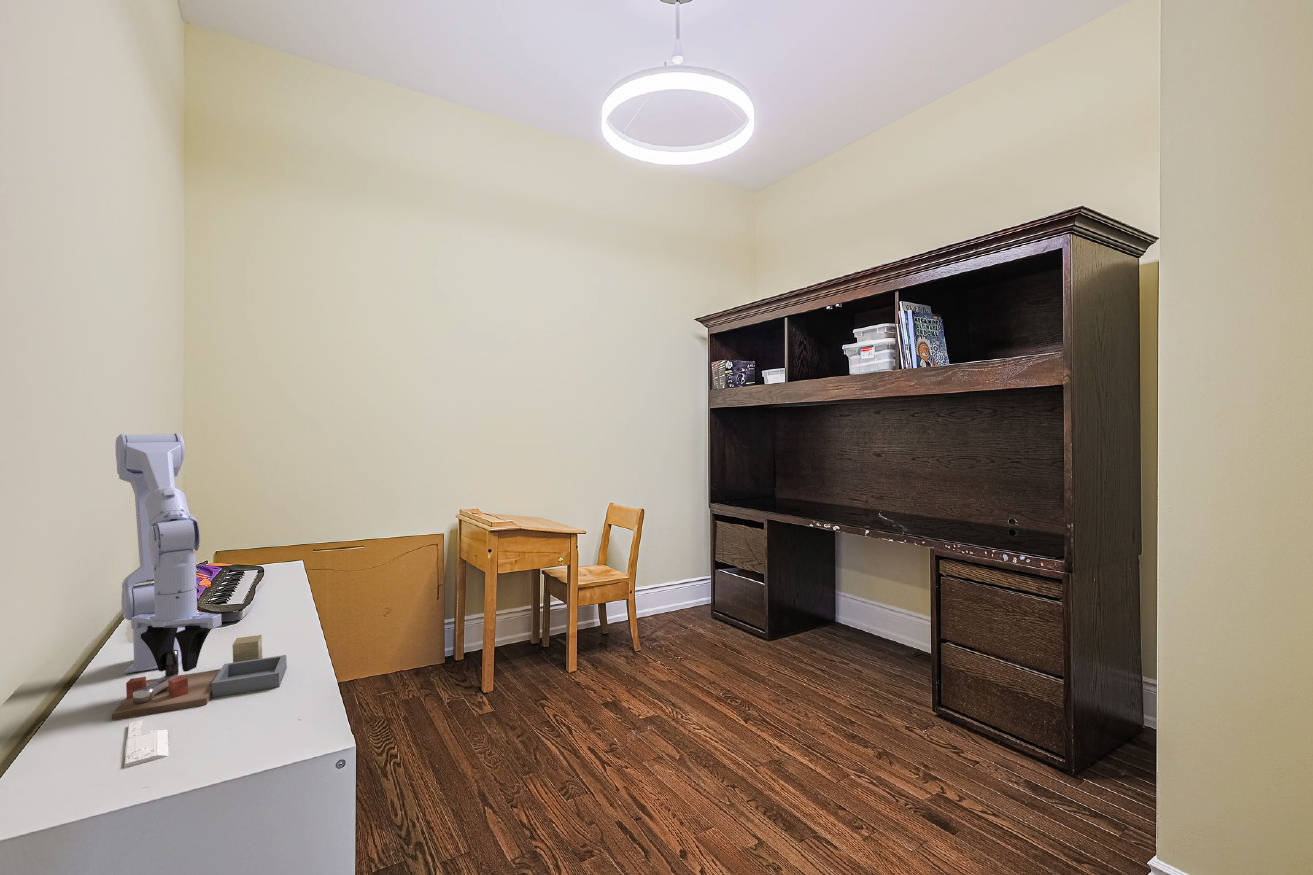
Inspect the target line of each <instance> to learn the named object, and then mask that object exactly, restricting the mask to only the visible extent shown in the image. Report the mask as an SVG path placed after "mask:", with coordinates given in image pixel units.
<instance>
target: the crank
mask: <svg viewBox="0 0 1313 875" xmlns="http://www.w3.org/2000/svg"><path fill="white" fill-rule="evenodd" d="M179 673H180V672H179V665H178V650H169V651H166V652H165V671H164V674H165V675H164V676H162V677H159V678H160V679H158V678H157V679H158V680H157V681H155V682H153V683H151V684H150V685H148V686H146V687H143V688H139V689H136V690H134V691H133V703H143V702H147V701H150V700H152V699H153V698H154V695H155V694H157V693H158V692H160V691H161V690H163V689H165V688H166V687H168V680H170V679H174V678H177V677H178V675H179Z"/></svg>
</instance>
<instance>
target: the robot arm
mask: <svg viewBox="0 0 1313 875" xmlns="http://www.w3.org/2000/svg"><path fill="white" fill-rule="evenodd" d="M185 449H186V448H185V441H184V438H183V436H182V435H181V434H180V433H177V432H175V433H168V434H167V433H161V434H160V433H159V434H158V433H157V434H153V433H152V434H124V433H120V434H119V435H118V436H117V437H116V438H115V459H116V460H115V461H116V472H117V473H116V474H118V479H119V480H122V481H124V482H127V483H129V484H130V486H131V488H132V490H133V493H134V502H135V514H136V515H135V518H136V528H137V529H136V531H137V544H138V546H137V547H138V558H139V559H138V560H139V561H138V562H139V567H138V568H137V569H135V570H134V571H132V572H131V573H130V574H128V575H127V576H126V577H125V578H124V579H123V581H122V584H121V589H122V591H121V609H122V610H121V612H122V615H123V619H125V620H126V621H130V624H131V630H132V638H133V639H132V642H133V644H132V645H133V646H132V647H133V663H132V664H131V665H130V666H129V667H127V669H125V670H124V671H125V674H129V673H135V672H136V673H137V672H143V671H149V670H150V671H151V670H156V669H157V670H158V671H159V672H165V652H166V651H169V650H178V666H179V665H180V664H181V667H182V671H183V672H189V671H192V670H193V669H194V670H195V668H197V666H198V661H199V657H200V653H201V652H202V648H203V646H204V643H205V641H206V639H207V637H208V636H209V634H210V632H211V630H213V629H215V628H216V629H217V628H218V627H221V626H222V614H221V613H220V614H219V613H218V614H217V613H209V612H203V611H198V603H197V601H198V600H197V599H198V598H197V597H198V595H197V592H198V590H197V560H196V559H197V558H196V557H197V556H196V555H197V552H198V551H199V549H200V542H201V531H200V526H199V522H198V520H197V518H196V517H195V516H194V514H190V510H189V505H188V501H187V498H186V494H185V493H184V492H183V491H182V490H180V489H179V488H176V482H175V478H176V477H178V475H179V472H180V471H181V469H182V466H183V462H184V459H185ZM144 583H145V584H144ZM138 584H139V585H138Z"/></svg>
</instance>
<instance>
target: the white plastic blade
mask: <svg viewBox="0 0 1313 875" xmlns="http://www.w3.org/2000/svg"><path fill="white" fill-rule="evenodd" d="M143 724H144V720H143V719H141V720H137V721H133V722H128V727H127V728H128V729H127V736H126V737H127V738H126V743H125V748H124V749H125V750H124V753H125V756H124V758H125V759H124V768H125V769H126V768H129V767H133V766H137V765H140V764H144V763H147V762H148V763H149V762H151V761H155V760H158V759H163V758H165V757H169V756H170V755H169V754H170V752H169V734H168V733H169V731H168V729H159V730H155V729H150V731H149V732H150V733H147V734H145V735H144V734H142V732H141V729H142V727H143Z"/></svg>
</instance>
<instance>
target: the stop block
mask: <svg viewBox="0 0 1313 875" xmlns="http://www.w3.org/2000/svg"><path fill="white" fill-rule="evenodd" d="M262 638H263V637H262V634H257V635H249V636H243V637H236V639H235V640H234V642H233V643H232V663H234V662H241V661H247V660H254V659H261V658H263V640H262Z"/></svg>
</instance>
